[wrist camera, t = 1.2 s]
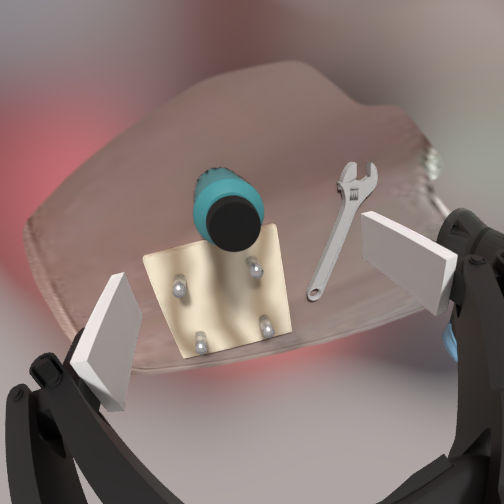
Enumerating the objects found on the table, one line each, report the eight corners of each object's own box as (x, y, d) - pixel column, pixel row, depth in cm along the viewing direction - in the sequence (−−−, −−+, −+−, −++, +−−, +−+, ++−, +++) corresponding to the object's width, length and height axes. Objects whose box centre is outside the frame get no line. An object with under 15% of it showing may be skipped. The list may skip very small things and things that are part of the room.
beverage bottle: (227, 218, 40) (254, 284, 22) (185, 198, 38) (175, 250, 19) (249, 178, 38) (297, 210, 20) (207, 156, 36) (217, 167, 18)
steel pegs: (256, 254, 41) (262, 265, 38) (269, 321, 46) (275, 336, 43) (172, 275, 40) (170, 288, 36) (196, 340, 45) (197, 355, 41)
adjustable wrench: (315, 297, 49) (319, 302, 47) (284, 289, 47) (287, 294, 45) (376, 169, 42) (382, 171, 40) (347, 152, 40) (353, 152, 38)
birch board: (273, 223, 42) (276, 225, 40) (289, 326, 50) (291, 331, 48) (144, 255, 39) (142, 259, 38) (183, 353, 47) (183, 358, 46)
